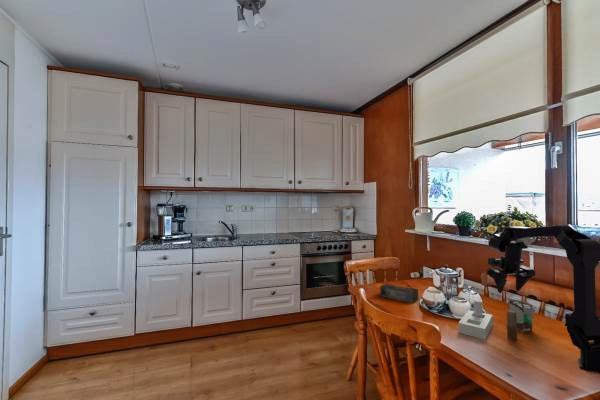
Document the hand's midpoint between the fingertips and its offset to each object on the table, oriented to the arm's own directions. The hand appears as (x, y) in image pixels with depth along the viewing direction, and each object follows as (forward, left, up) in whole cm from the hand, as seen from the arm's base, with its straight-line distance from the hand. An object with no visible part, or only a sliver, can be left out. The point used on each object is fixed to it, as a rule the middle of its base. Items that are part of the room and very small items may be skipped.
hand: (508, 291), depth 119 cm
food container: (+1, -5, -15) cm, 16 cm away
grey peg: (-7, +10, -14) cm, 19 cm away
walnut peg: (-13, -2, -14) cm, 19 cm away
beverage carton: (+5, +50, -15) cm, 52 cm away
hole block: (-12, +10, -14) cm, 21 cm away
